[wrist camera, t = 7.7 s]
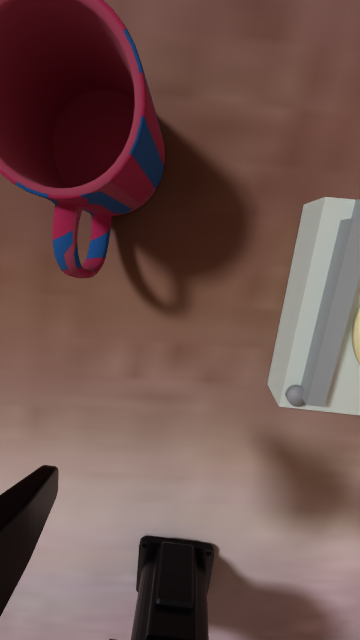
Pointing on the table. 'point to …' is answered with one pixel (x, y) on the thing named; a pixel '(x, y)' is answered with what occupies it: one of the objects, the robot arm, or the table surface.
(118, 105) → the mug
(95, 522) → the table surface
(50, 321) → the table surface
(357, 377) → the grey tray
